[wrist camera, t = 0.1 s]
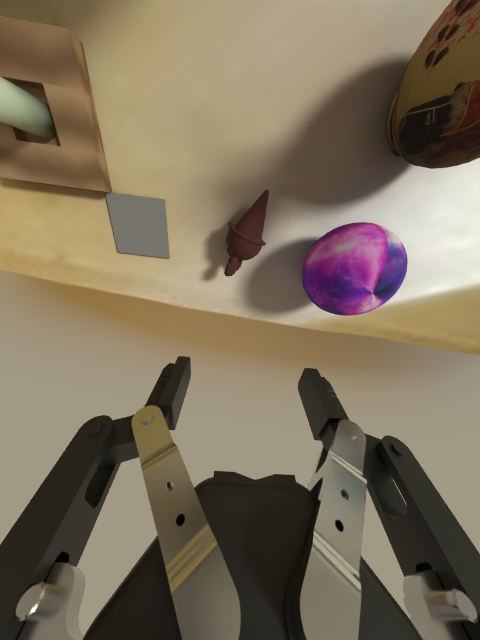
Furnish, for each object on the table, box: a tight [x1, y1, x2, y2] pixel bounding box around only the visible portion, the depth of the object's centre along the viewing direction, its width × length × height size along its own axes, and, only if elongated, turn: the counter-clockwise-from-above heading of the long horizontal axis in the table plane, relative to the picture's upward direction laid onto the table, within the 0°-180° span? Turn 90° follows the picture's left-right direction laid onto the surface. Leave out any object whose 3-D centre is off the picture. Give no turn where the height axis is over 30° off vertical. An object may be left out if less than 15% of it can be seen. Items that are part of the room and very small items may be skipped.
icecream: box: [224, 190, 269, 276], centre depth 32 cm, size 7×7×15 cm
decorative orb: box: [302, 222, 407, 315], centre depth 31 cm, size 15×15×15 cm
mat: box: [105, 192, 169, 258], centre depth 34 cm, size 10×10×1 cm
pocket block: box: [0, 15, 112, 193], centre depth 26 cm, size 16×16×2 cm
